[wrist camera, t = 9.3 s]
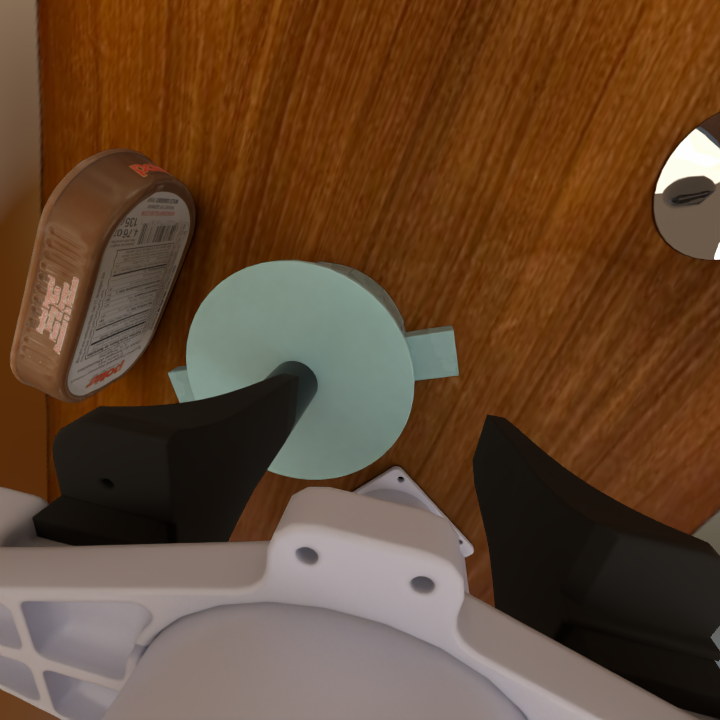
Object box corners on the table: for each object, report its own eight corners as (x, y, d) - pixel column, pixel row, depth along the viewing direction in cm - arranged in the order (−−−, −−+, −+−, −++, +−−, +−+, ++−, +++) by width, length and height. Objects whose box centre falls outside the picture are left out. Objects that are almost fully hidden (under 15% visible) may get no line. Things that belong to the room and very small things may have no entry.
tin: (178, 160, 21) (40, 121, 14) (223, 190, 22) (112, 168, 14) (112, 353, 27) (-13, 404, 19) (148, 375, 27) (39, 434, 19)
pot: (458, 403, 24) (469, 455, 19) (242, 426, 27) (198, 475, 22) (437, 236, 21) (443, 240, 15) (195, 286, 24) (128, 304, 19)
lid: (429, 460, 20) (432, 533, 15) (236, 474, 22) (186, 540, 18) (393, 234, 16) (381, 237, 11) (165, 283, 19) (79, 301, 14)
